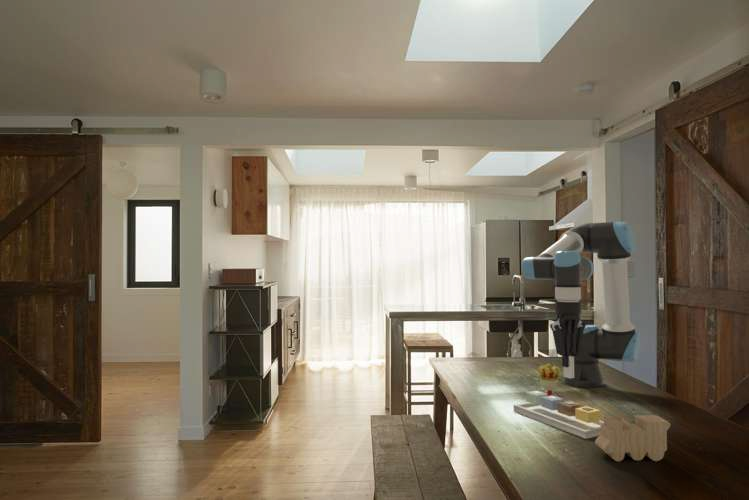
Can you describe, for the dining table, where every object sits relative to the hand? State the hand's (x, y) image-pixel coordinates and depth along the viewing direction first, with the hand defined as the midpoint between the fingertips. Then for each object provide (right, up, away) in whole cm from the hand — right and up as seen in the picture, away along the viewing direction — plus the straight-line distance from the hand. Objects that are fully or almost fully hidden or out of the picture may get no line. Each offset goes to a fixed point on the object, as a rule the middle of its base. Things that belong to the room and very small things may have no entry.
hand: (568, 377), depth 161 cm
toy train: (+7, -14, -27) cm, 31 cm away
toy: (+2, -15, +24) cm, 29 cm away
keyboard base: (-1, -14, +3) cm, 15 cm away
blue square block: (-3, -11, +6) cm, 13 cm away
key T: (0, -11, 0) cm, 11 cm away
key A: (+3, -11, -6) cm, 13 cm away
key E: (-6, -11, +12) cm, 18 cm away
